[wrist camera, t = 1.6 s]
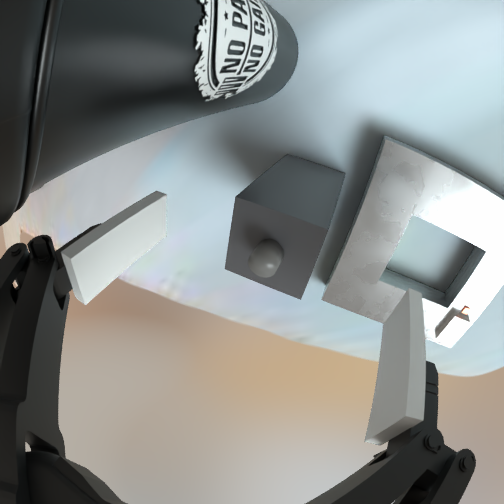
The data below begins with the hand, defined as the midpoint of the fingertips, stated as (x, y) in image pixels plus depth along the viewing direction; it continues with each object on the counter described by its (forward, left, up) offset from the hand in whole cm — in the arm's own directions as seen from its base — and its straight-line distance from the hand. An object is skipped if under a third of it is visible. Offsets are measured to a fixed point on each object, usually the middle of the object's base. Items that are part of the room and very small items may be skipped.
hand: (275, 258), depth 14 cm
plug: (0, 0, -9) cm, 9 cm away
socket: (+11, -1, -9) cm, 14 cm away
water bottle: (-8, +9, -10) cm, 15 cm away
